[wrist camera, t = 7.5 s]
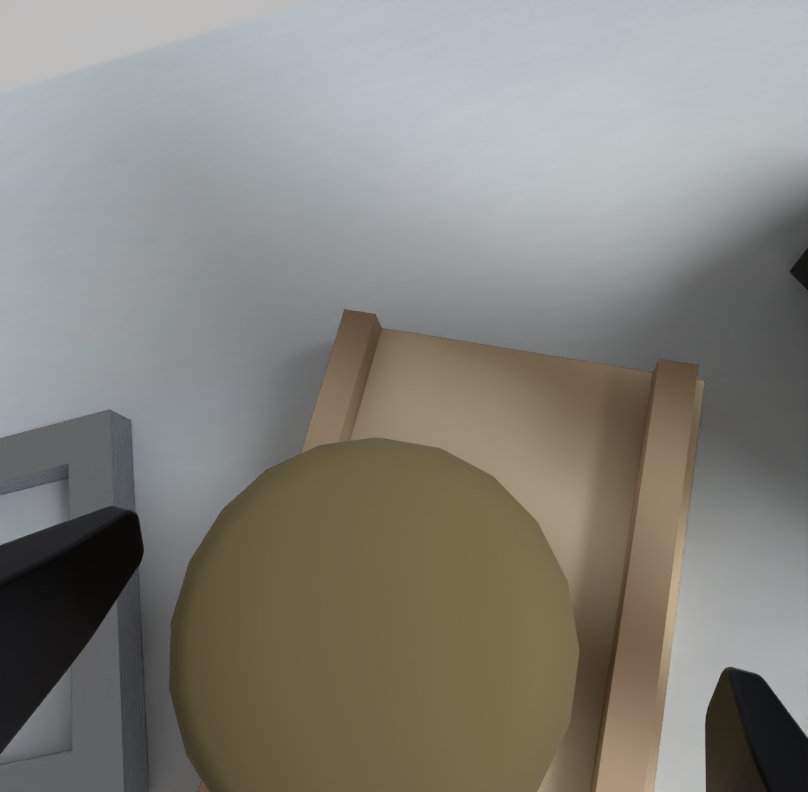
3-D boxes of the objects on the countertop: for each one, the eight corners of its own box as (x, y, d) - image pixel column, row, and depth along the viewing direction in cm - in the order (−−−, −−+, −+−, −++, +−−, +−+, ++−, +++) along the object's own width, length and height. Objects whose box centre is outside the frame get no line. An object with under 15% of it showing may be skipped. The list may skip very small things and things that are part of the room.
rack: (610, 1042, 15) (625, 1110, 13) (191, 870, 17) (147, 904, 15) (694, 394, 19) (714, 367, 17) (350, 336, 22) (332, 307, 20)
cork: (348, 506, 19) (135, 373, 8) (563, 513, 17) (622, 372, 7) (328, 738, 17) (19, 939, 6) (567, 763, 16) (656, 1053, 5)
